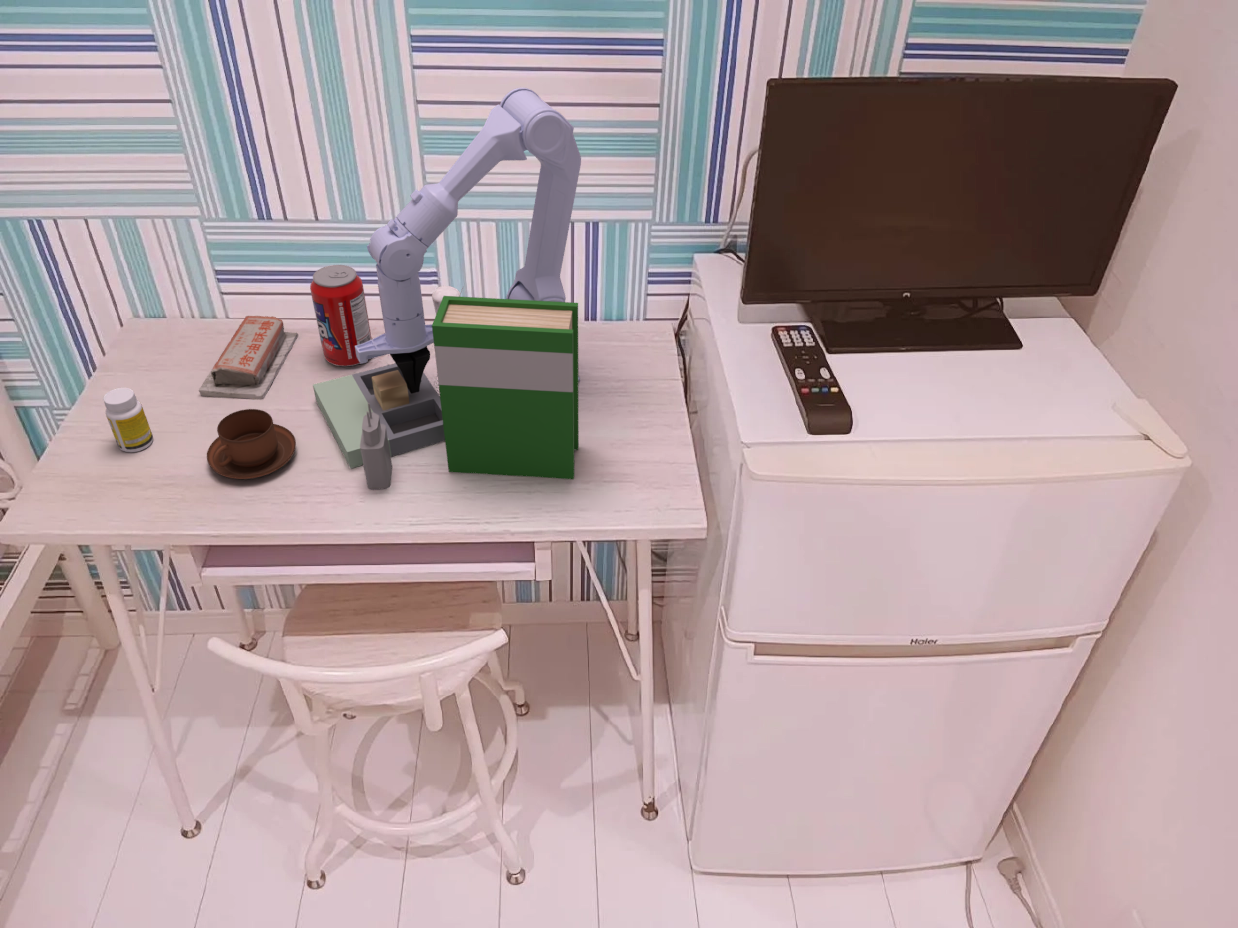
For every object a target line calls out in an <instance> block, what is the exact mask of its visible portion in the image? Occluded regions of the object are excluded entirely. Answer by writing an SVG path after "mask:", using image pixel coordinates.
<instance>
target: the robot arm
mask: <svg viewBox="0 0 1238 928" xmlns="http://www.w3.org/2000/svg"><path fill="white" fill-rule="evenodd" d="M499 103H500V104H496V105H495V106H494V107H493V108H492V109H490V112H489V114H488V115H487V118H486V120H485V123H484V125H483V127H482V128H481V129H480V131H479V132H478V133H477V134H476V136H475V137H474V138H473V139H472V141H470V143H469V145H468V146H467V147H466V148H465V150H464V151H463V152H462V153H461V155H460V156H459V157H458V158H457V160H456V161H455V162H454V163H453V165H452V166H451V167H450V169H449V170H448V171H447V172H446V174H444V176H443V177H442V179H441V180H440V181H439V182H437V183H427V184H425V185H423V186H422V188H420V189H419V190H418V189H414V190H413V192H412V193H411V194H410V200H409V201H408V203H407V204H406V205H405V206H404V207H403V208H402V209H401V211H399V213H398V214H397V215H396V217H394V218H391V219H390V220H389V221H388V222H387V224H385V225H384V226H383V225H382V226H380V227H378V228H377V229H376V230H375V231H374V232H373V233H372V234H371V237H370V238H369V243H368V244H367V245H366V248H367V252H368V253H369V255H370V257H371V258H372V259H373V260H375V262H376V264H375V269H376V277H377V287H378V288H377V289H378V295H379V302H380V306H381V315H382V321H383V329H384V333H382V334H380V335H377V336H376V337H373V338H372V340H369V341H367V342H365V343H363V344H360V345H356V346H355V350H356V356H357V358H358V360H359V362H360V364H361V365H362V364H365V363H368V362H369V361H368V360H370V359H375V358H379V357H383V356H386V355H390V357H391V359H392V360H393V362H394V363H396V365H397V366H398V367H399V368H400V370H401V372H402V374H403V377H404V379H405V382H406V384H407V388H408V390H409V391H410V393H411V394H413V393H416V392H419V391H420V383H421V378H422V375H423V372H425V371H424V370H425V369H426V367H427V364H428V363H429V361H430V359H431V351H430V350H429V348H428V346H430V345H431V344H434V340H433V331H432V324H433V323H432V324H431V323H430V324H426V321H425V312H424V303H423V296H422V295H423V294H422V287H421V281H420V276H419V272H420V271H421V269H422V267H423V265H424V261H425V260H424V259H425V257H424V256H425V254H426V253H427V250H428V249H429V247H430V246H431V245H432V244H433V243H434V242H435V241H436V240H437V239H438V238H439V237H440V236H441V235H442V233H443V232H444V231H445V230H446V229H447V228H448V227H449V226H450V224H452V222H454V220H455V219H456V218H457V217H458V215H459V214H458V213H459V211H458V210H459V202H460V201H461V199H463V198H464V197H465V196H466V195H467V194H468V193H469V192H470V191H471V190H472V189H473V188H474V187H475V186H476V185H477V184H478V183H479V182H480V181H482V179H483V178H484V177H486V175H487V174H488V173H490V172H491V171H492V170H493V169H494V168H495V167H496V166H497V165H498V164H499V163H500V162H502V161H527V160H528V158H527V156H526V153H525V151H528V152H529V153H530V154H531V155H533V156H534V157H535V158H536V159H537V161H538V162H539V163H540V169H539V175H538V182H537V187H536V194H535V199H534V204H533V205H534V207H533V210H532V218H531V225H530V230H529V237H528V242H527V248H526V254H525V255H526V256H525V260H524V266H523V267H521V268H519V269H518V270H516V272H515V277H514V281H513V283H512V284H511V286H510V287H509V288H508V291H507V294H506V296H505V297H506V298H505V299H515V300H534V301H553V302H566V298H567V297H566V293H565V289H564V287H563V286H564V285H563V283H562V279H561V272H562V266H563V262H564V256H565V252H566V244H567V239H568V234H569V230H570V225H571V218H572V213H573V207H574V203H575V199H576V198H575V197H576V192H577V187H578V180H579V176H580V171H581V165H582V156H581V154H580V150H579V148H578V145H577V142H576V141H577V140H576V139H575V137H574V130H575V126H573V125H572V124H571V123H570V121H569V120H567V118H566V117H565V116H564V115H563V114H562V113H561V112H559V111H558V110H557V109H554V108H553V107H552V106H550V105H549V104H548V103H547V102H546V101H544V100H543V99H542V98H541V97H540V96H539V94H538V93H536V92H535V91H534V90H532V89H530V88H527V87H517V88H513V89H512V90H510V91H509V92H507V93H506V94H505V95H504V96H503V98H502V100H501V101H500V102H499ZM580 381H581V377H580V376H579V375H578V382H580Z"/></svg>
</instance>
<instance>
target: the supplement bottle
mask: <svg viewBox="0 0 1238 928" xmlns="http://www.w3.org/2000/svg"><path fill="white" fill-rule="evenodd" d="M102 401H103V403H104V406H105V417H106V418H107V422H108V424H109V426H110V429H111V431H112V434H113V438H114V439H115V442H116V444H117V447H118V448H119V449H120V451H123V452H126V453H137V452H140V451H144V450H146V448H148V447H149V446H151V445H152V443H153V442H154V436H153V435H154V434H153V433H152V430H151V427H150V425H149V421H148V418H147V416H146V413H145V410H144V407H143V405H142V404H141V402H140V401H139V400H138V399H137V396H136V394H135V392H134V390H133V389H131V388H129V387H117V388H114V389H111V390H109V391H107V392H106V393H105V394H104V396H103V399H102Z"/></svg>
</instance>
